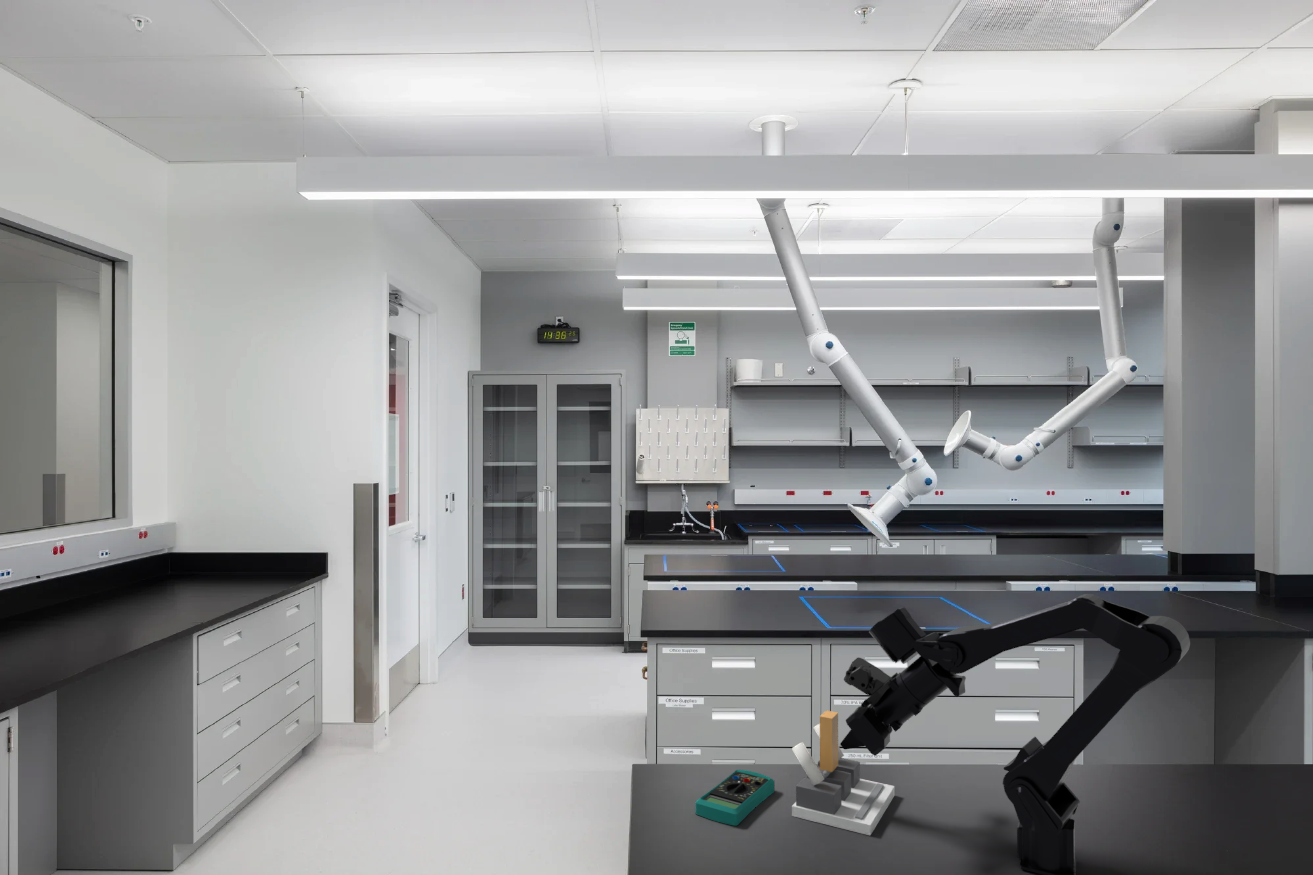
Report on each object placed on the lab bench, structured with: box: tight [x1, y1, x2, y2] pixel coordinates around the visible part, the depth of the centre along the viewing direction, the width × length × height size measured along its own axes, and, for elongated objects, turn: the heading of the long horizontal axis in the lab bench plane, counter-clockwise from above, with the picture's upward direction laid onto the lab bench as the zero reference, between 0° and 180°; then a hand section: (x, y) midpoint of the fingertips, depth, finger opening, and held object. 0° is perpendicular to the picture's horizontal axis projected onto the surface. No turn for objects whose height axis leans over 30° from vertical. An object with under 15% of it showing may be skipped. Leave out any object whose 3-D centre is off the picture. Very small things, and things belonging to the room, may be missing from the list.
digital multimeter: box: [694, 769, 776, 827], centre depth 124 cm, size 7×15×3 cm, turn 147°
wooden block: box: [819, 710, 839, 777], centre depth 124 cm, size 2×4×9 cm, turn 150°
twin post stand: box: [791, 723, 896, 836], centre depth 123 cm, size 13×15×11 cm
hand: (842, 746), depth 123 cm, fingers closed
